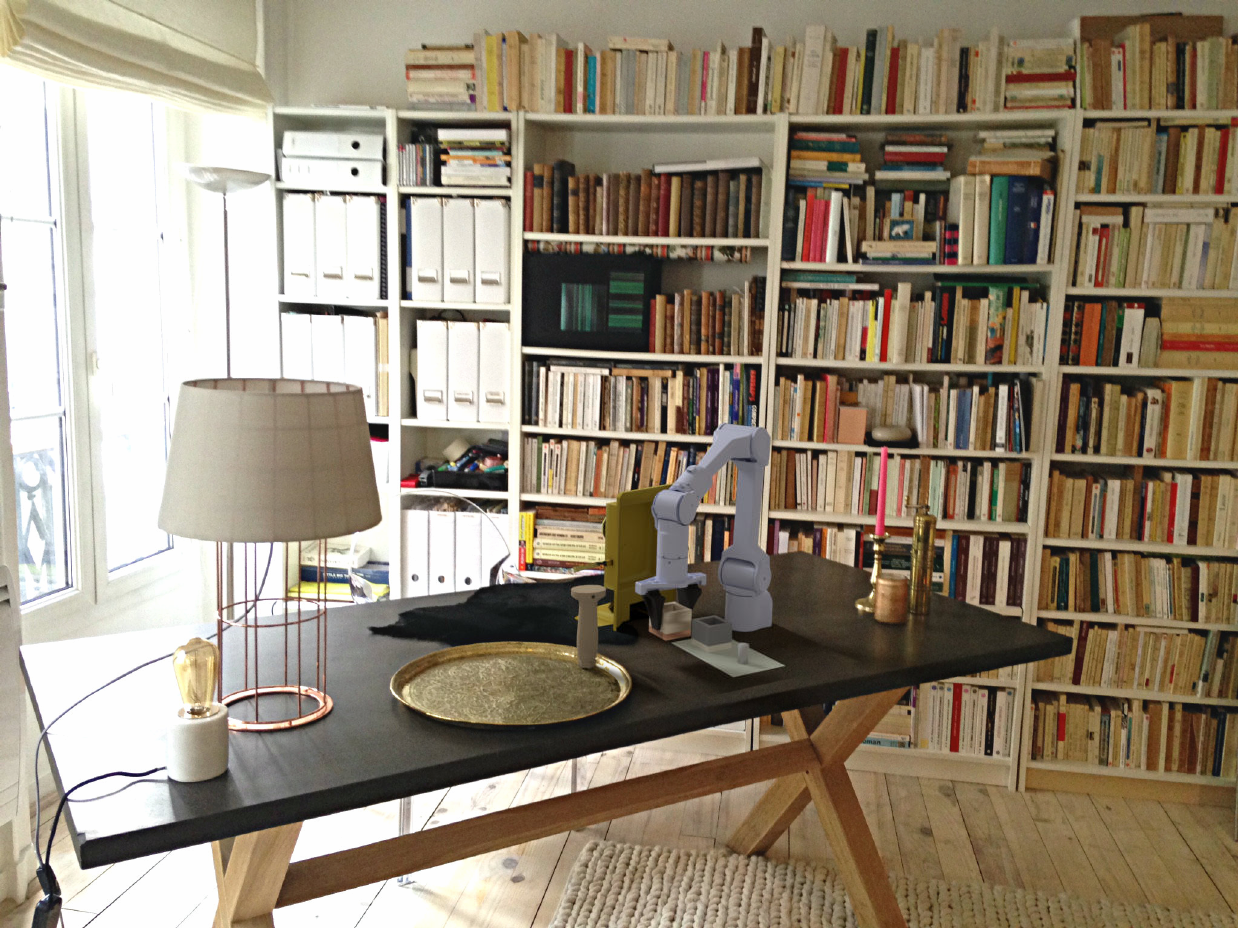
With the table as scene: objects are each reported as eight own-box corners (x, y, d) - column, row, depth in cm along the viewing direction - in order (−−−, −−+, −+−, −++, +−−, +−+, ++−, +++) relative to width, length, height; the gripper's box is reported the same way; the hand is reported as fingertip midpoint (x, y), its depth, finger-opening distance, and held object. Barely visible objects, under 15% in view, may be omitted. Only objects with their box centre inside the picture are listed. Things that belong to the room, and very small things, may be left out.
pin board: (720, 640, 205) (721, 616, 204) (784, 673, 188) (786, 647, 187) (671, 649, 199) (672, 625, 198) (733, 684, 182) (734, 658, 181)
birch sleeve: (673, 626, 192) (674, 601, 191) (690, 635, 187) (691, 609, 186) (648, 631, 189) (649, 605, 188) (665, 640, 184) (666, 614, 183)
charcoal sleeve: (714, 639, 201) (715, 615, 200) (731, 647, 197) (732, 623, 196) (691, 643, 198) (692, 619, 198) (707, 652, 194) (709, 627, 193)
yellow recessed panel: (653, 597, 233) (657, 469, 227) (699, 612, 223) (704, 478, 218) (550, 627, 211) (552, 485, 206) (596, 644, 201) (600, 496, 196)
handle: (607, 668, 188) (609, 590, 186) (575, 672, 186) (576, 594, 183) (597, 659, 193) (599, 583, 190) (566, 663, 190) (567, 586, 188)
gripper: (651, 565, 178) (648, 638, 181) (717, 555, 186) (714, 626, 188) (630, 555, 184) (628, 627, 187) (695, 547, 192) (692, 615, 194)
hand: (669, 626), depth 188 cm, fingers closed on birch sleeve, 6 cm apart
